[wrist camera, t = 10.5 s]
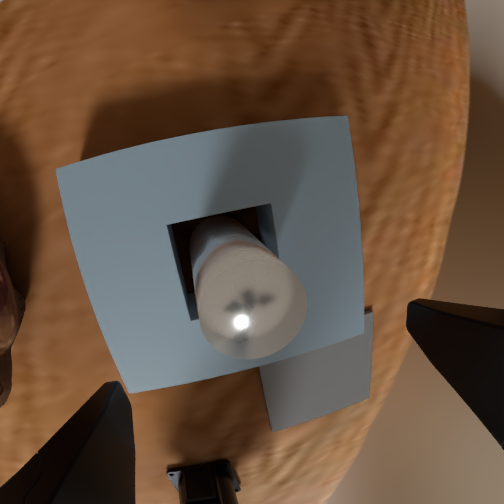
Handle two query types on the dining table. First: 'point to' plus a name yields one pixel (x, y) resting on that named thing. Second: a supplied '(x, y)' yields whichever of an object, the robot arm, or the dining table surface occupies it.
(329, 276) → the blue peg hole block
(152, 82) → the dining table surface
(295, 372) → the rubber mat
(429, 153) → the dining table surface
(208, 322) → the steel pin
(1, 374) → the decorative turtle
